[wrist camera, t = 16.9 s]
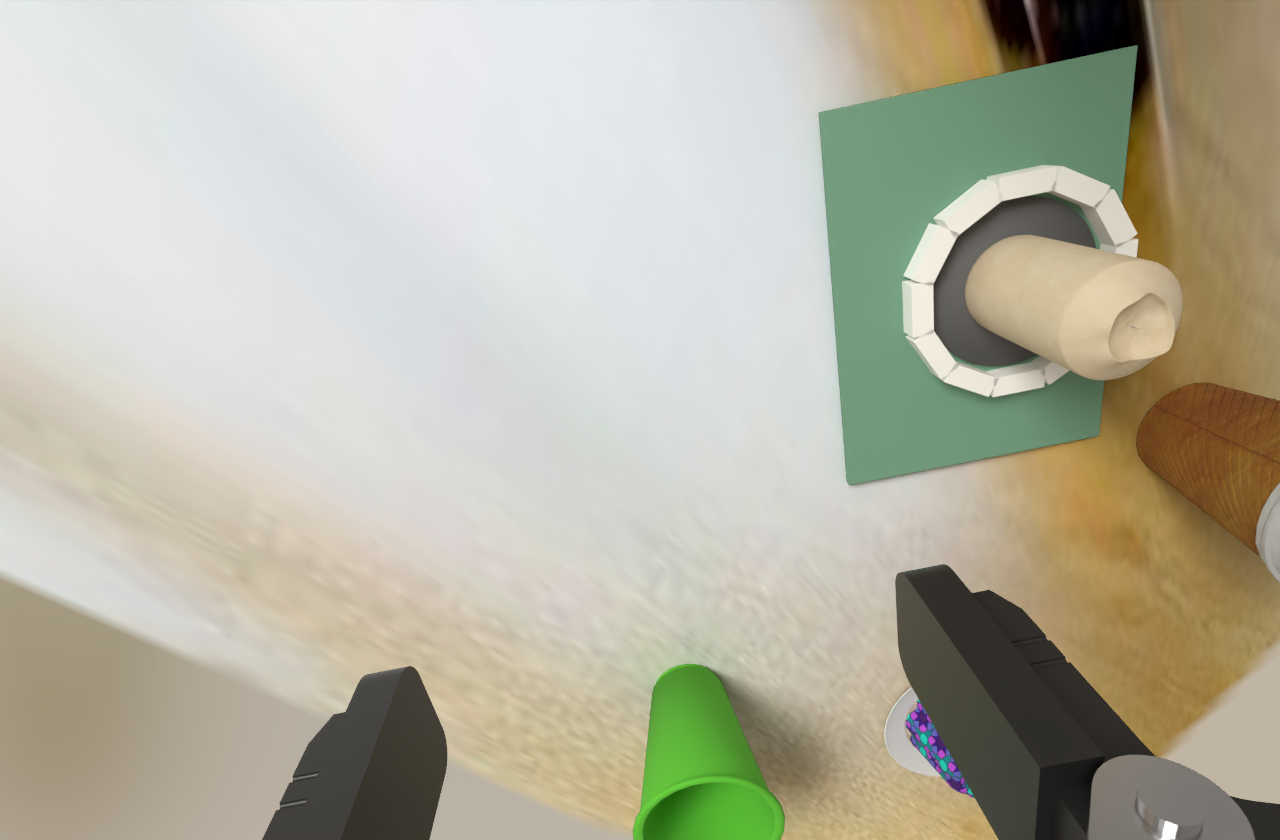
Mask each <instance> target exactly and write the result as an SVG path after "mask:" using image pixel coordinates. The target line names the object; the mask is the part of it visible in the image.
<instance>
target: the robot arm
mask: <svg viewBox="0 0 1280 840" xmlns="http://www.w3.org/2000/svg"><path fill="white" fill-rule="evenodd" d="M896 606H897V628H898V647H899V653H900V657H901V661H902V665H903V668H904V671H905V673H906V676H907V678H908V680H909V683H910V685H911V686H912V688H913V690H914V692H915V694H916V695H917V697H918V699H919V701H920V702H921V704H922V706H923V708H924V709H925V711H926V713H927V715H928V716H929V718H930V720H931V722H932V723H933V725H934V727H935V729H936V730H937V732H938V734H939V736H940V737H941V739H942V741H943V743H944V744H945V746H946V748H947V750H948V751H949V753H950V755H951V757H952V758H953V760H954V762H955V764H956V765H957V767H958V769H959V771H960V772H961V774H962V776H963V778H964V779H965V781H966V783H967V785H968V787H969V788H970V790H971V792H972V794H973V795H974V797H975V799H976V801H977V802H978V804H979V806H980V808H981V809H982V811H983V813H984V815H985V816H986V818H987V820H988V822H989V823H990V825H991V827H992V829H993V830H994V832H995V834H996V836H997V837H998V839H999V840H1280V804H1273V803H1265V802H1256V801H1250V800H1244V799H1239V798H1235V797H1232V796H1229V795H1228V794H1227V793H1226V792H1224V791H1223V790H1222V789H1221V788H1220V787H1219V786H1217V785H1216V784H1215V783H1213V782H1212V781H1210V780H1209V779H1208V778H1206V777H1204V776H1202V775H1201V774H1199V773H1197V772H1196V771H1194V770H1192V769H1190V768H1187V767H1185V766H1183V765H1181V764H1178V763H1175V762H1173V761H1170V760H1167V759H1163V758H1159V757H1156V756H1155V755H1154V754H1153V753H1152V752H1151V751H1150V750H1149V749H1148V748H1147V747H1146V746H1145V745H1144V744H1143V743H1142V742H1141V741H1140V740H1139V738H1138V737H1137V736H1136V735H1135V734H1134V733H1133V732H1132V731H1131V730H1130V728H1129V727H1128V726H1127V725H1126V724H1125V723H1124V722H1123V721H1122V720H1121V718H1120V717H1119V716H1118V715H1117V714H1116V713H1115V712H1114V711H1113V710H1112V708H1111V707H1110V706H1109V705H1108V704H1107V703H1106V702H1105V701H1104V700H1103V698H1102V697H1101V696H1100V695H1099V694H1098V693H1097V692H1096V691H1095V690H1094V688H1093V687H1092V686H1091V685H1090V684H1089V683H1088V682H1087V681H1086V680H1085V678H1084V677H1083V676H1082V675H1081V674H1080V673H1079V672H1078V671H1077V669H1076V668H1075V667H1074V666H1073V665H1072V664H1071V663H1067V661H1066V659H1065V656H1064V655H1063V654H1062V653H1061V652H1060V651H1059V649H1058V648H1057V647H1056V646H1055V645H1054V644H1053V643H1052V642H1051V641H1050V640H1049V641H1048V640H1047V639H1046V635H1045V634H1044V633H1043V632H1042V631H1041V629H1040V628H1039V627H1038V626H1037V625H1036V624H1035V623H1034V622H1033V621H1032V619H1031V618H1030V617H1029V616H1028V615H1027V614H1026V613H1025V612H1024V611H1023V609H1021V608H1019V607H1018V606H1016V605H1014V604H1013V603H1011V602H1009V601H1007V600H1006V599H1004V598H1002V597H1001V596H999V595H997V594H996V593H994V592H992V591H990V590H986V591H981V592H976V593H971V592H970V591H969V590H968V588H967V587H966V586H965V585H964V583H963V582H962V581H961V580H960V579H959V577H958V576H957V575H956V574H955V572H954V571H953V570H952V569H951V568H950V567H949V566H947V565H945V564H942V565H937V566H932V567H927V568H922V569H917V570H911V571H906V572H901V573H898V574H897V576H896ZM446 767H447V744H446V738H445V734H444V731H443V728H442V726H441V723H440V721H439V719H438V716H437V714H436V712H435V710H434V707H433V705H432V703H431V700H430V698H429V696H428V694H427V691H426V689H425V687H424V685H423V682H422V680H421V678H420V675H419V673H418V672H417V670H416V669H415V668H414V667H411V666H408V667H403V668H398V669H393V670H388V671H383V672H378V673H372V674H367V675H365V676H364V677H362V679H361V680H360V682H359V683H358V685H357V688H356V690H355V692H354V694H353V697H352V699H351V701H350V703H349V706H348V708H347V710H346V712H344V713H339V714H334V715H333V716H332V717H331V718H330V720H329V721H328V722H327V723H326V724H325V725H324V727H323V728H322V729H321V730H320V731H319V732H318V734H317V735H316V736H315V737H314V738H313V739H312V741H311V742H310V743H309V744H308V746H307V748H306V750H305V752H304V754H303V756H302V758H301V760H300V762H299V764H298V767H297V768H296V770H295V773H294V775H293V782H292V783H289V785H288V787H287V789H286V791H285V793H284V796H283V798H282V800H281V802H280V810H277V811H276V812H275V814H274V816H273V818H272V821H271V823H270V824H269V826H268V829H267V831H266V833H265V835H264V837H263V839H262V840H429V839H430V835H431V830H432V826H433V822H434V818H435V814H436V810H437V806H438V801H439V798H440V793H441V789H442V785H443V781H444V777H445V773H446Z"/></svg>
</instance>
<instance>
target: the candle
mask: <svg viewBox="0 0 1280 840" xmlns="http://www.w3.org/2000/svg"><path fill="white" fill-rule="evenodd" d="M964 297H965V304H966V307H967V310H968V312H969V314H970V315H971V317H972V318H973V319H974V320H975V321H976V322H977V323H978V324H979V325H981V326H982V327H984V328H986V329H987V330H989V331H991V332H993V333H995V334H997V335H999V336H1001V337H1003V338H1005V339H1007V340H1009V341H1011V342H1013V343H1015V344H1017V345H1019V346H1021V347H1023V348H1025V349H1028V350H1030V351H1032V352H1034V353H1036V354H1038V355H1040V356H1042V357H1044V358H1046V359H1048V360H1050V361H1052V362H1054V363H1056V364H1058V365H1060V366H1062V367H1064V368H1066V369H1068V370H1070V371H1072V372H1074V373H1076V374H1078V375H1081V376H1083V377H1085V378H1088V379H1093V380H1113V379H1118V378H1121V377H1124V376H1127V375H1130V374H1132V373H1134V372H1136V371H1138V370H1140V369H1141V368H1143V367H1144V366H1146V365H1147V364H1149V363H1150V362H1151V361H1153V360H1154V359H1156V358H1157V357H1158V356H1160V355H1163V354H1164V353H1166V352H1168V350H1169V349H1170V348H1171V346H1172V344H1173V341H1174V336H1175V334H1176V332H1177V329H1178V326H1179V324H1180V320H1181V316H1182V310H1183V294H1182V289H1181V286H1180V283H1179V282H1178V280H1177V278H1176V276H1175V275H1174V274H1173V273H1172V272H1171V271H1170V270H1169V269H1168V268H1167V267H1165V266H1163V265H1162V264H1159V263H1157V262H1154V261H1150V260H1145V259H1140V258H1136V257H1131V256H1127V255H1122V254H1118V253H1113V252H1109V251H1104V250H1100V249H1095V248H1091V247H1086V246H1081V245H1077V244H1072V243H1068V242H1063V241H1059V240H1054V239H1050V238H1045V237H1040V236H1035V235H1016V236H1011V237H1008V238H1005V239H1002V240H1000V241H998V242H996V243H995V244H993V245H991V246H990V247H989V248H988V249H986V250H985V251H984V252H983V253H982V254H981V255H980V256H979V258H978V259H977V260H976V261H975V263H974V264H973V266H972V268H971V270H970V272H969V274H968V277H967V280H966V284H965V290H964Z"/></svg>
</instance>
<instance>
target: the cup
mask: <svg viewBox="0 0 1280 840" xmlns="http://www.w3.org/2000/svg"><path fill="white" fill-rule="evenodd" d="M784 822H785V815H784V812H783V809H782V806H781V804H780V802H779V801H778V800H777V799H776V797H775V796H774V795H773V794H772V793H771V792H770V791H769V790H768V788H767V785H766V783H765V781H764V778H763V776H762V774H761V772H760V769H759V767H758V765H757V762H756V760H755V758H754V756H753V753H752V751H751V749H750V747H749V744H748V742H747V740H746V737H745V735H744V733H743V731H742V728H741V726H740V724H739V721H738V719H737V717H736V715H735V712H734V710H733V708H732V706H731V703H730V701H729V699H728V696H727V694H726V692H725V690H724V687H723V685H722V683H721V681H720V680H719V678H718V677H717V676H716V675H715V674H714V673H713V672H712V671H710V670H709V669H708V668H705V667H703V666H700V665H695V664H685V665H679V666H676V667H673V668H671V669H669V670H668V671H666V672H665V673H664V674H663V675H662V676H661V677H660V678H659V679H658V681H657V683H656V685H655V687H654V689H653V693H652V702H651V711H650V721H649V731H648V740H647V750H646V760H645V770H644V779H643V789H642V799H641V809H640V812H639V814H638V816H637V817H636V820H635V824H634V828H633V838H634V840H781V837H782V835H783V832H784Z"/></svg>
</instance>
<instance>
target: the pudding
mask: <svg viewBox="0 0 1280 840" xmlns="http://www.w3.org/2000/svg"><path fill="white" fill-rule="evenodd" d="M917 699H918V697H917V695H916V694H915V692H914V690H913V688H912V687H911V688H910V689H908V690H907V691H906V692H905V693H904V694H903V695H902V696H901V697H900V698H899V700H898V701H897V702H896V704H895V705H894V706H893V708H892V709H891V711H890V713H889V715H888V717H887V721H886V724H885V728H884V739H885V745H886V748H887V750H888V752H889V754H890V755H891V756H892V758H893V759H894V760H895V761H896V762H897V763H898V764H900V765H901V766H902V767H904V768H906V769H908V770H910V771H912V772H914V773H918V774H921V775H926V776H934V777H942V778H943V779H944V780H945V781H946V782H947V783H948V784H949V786H950V787H952V788H953V789H955V790H956V791H958V792H960V793H963V794H967V795H969V796H970V797H974V795H973V794H972V792H971V790H970V788H969V787H968V785H967V783H966V781H965V779H964V778H963V776H962V774H961V772H960V771H959V769H958V767H957V765H956V764H955V762H954V760H953V758H952V757H951V755H950V753H949V751H948V750H947V748H946V746H945V744H944V743H943V741H942V739H941V737H940V736H939V734H938V732H937V730H936V729H935V727H934V725H933V723H932V722H931V720H930V718H929V716H928V715H927V713H926V711H925V709H924V708H923V706H922V704H921V702H920V701H919V700H918V701H917V709H916V710H915V711H913V712H912V713H910V714H909V715H908V717H907V720H906V728H907V729H908V730H909V731H910V732H911V733H912V735H911V738H910V740H911V742H912V744H913V745H914V746H915V747H916V748H915V747H914V746H913V745H912V744H911V743H910V742H909V740H908V739H907V736H906V734H905V729H904V726H905V719H906V715H907V713H908V711H909V709H910V707H911V706H912V705H913V703H914V702H915V701H916V700H917ZM974 798H975V797H974Z"/></svg>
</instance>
